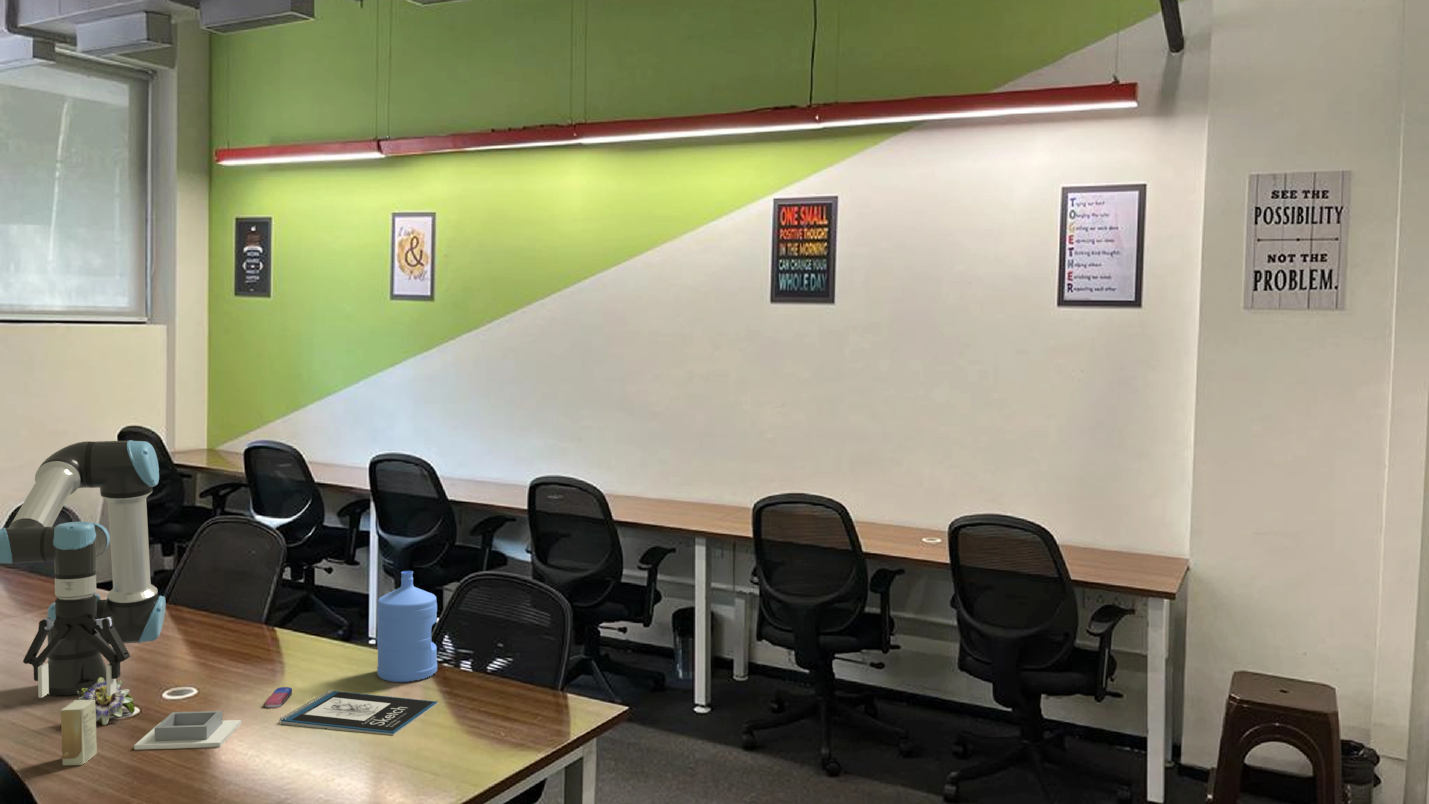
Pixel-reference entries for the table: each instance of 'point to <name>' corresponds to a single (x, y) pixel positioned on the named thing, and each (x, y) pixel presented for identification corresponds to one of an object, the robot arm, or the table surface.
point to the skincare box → (78, 732)
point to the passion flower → (107, 700)
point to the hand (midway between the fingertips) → (77, 694)
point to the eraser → (278, 697)
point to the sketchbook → (358, 712)
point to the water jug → (406, 633)
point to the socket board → (189, 731)
